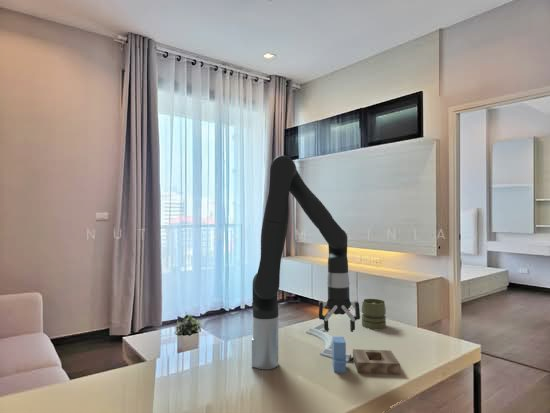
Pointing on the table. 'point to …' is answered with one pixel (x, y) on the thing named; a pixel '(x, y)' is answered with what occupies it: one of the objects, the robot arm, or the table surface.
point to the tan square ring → (376, 361)
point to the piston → (373, 314)
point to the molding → (325, 341)
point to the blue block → (339, 354)
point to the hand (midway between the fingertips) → (339, 331)
